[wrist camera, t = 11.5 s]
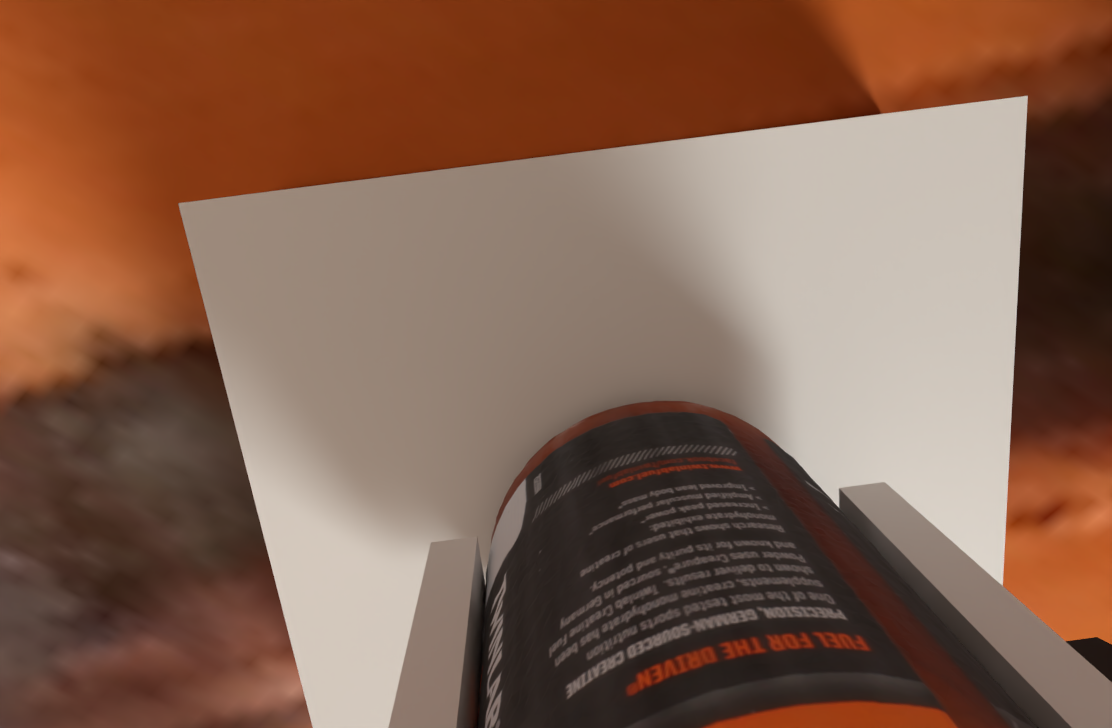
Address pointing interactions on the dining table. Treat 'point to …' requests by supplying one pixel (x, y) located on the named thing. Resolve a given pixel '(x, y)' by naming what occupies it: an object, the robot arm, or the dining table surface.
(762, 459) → the supplement bottle
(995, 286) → the white flat block
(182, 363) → the dining table surface
